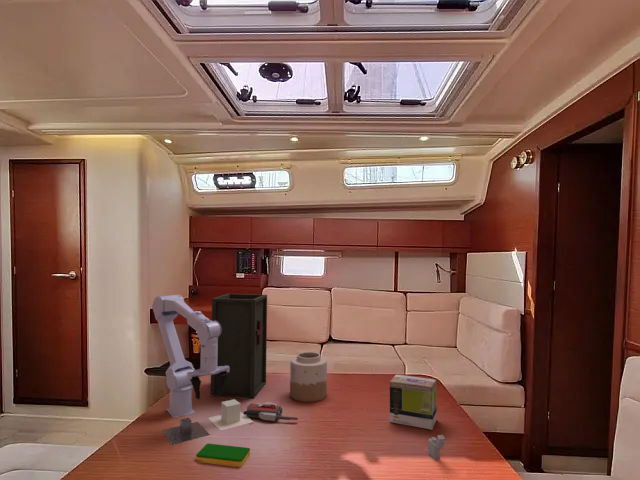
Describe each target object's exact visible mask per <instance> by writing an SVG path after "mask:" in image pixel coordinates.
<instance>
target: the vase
mask: <svg viewBox="0 0 640 480" xmlns="http://www.w3.org/2000/svg"><path fill="white" fill-rule="evenodd" d="M289 363H290V364H289V369H290V370H289V375H290V376H289V396H290V397H291V398H292V399H293V400H295V401H299V402H304V403H308V402H309V403H311V402H319V401H322V400H324V399H325V398H326V397H327V388H328V384H327V383H328V378H327V377H328V368H327V367H328V361H327V359H325V357H321V354H320V353H319V352H315V351H314V352H313V351H311V352H310V351H306V352H305V351H304V352H300V353H298V354H297V355H296V356H295V357H293V358H291V360H290V362H289Z"/></svg>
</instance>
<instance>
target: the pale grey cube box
mask: <svg viewBox="0 0 640 480" xmlns="http://www.w3.org/2000/svg"><path fill="white" fill-rule="evenodd" d="M220 403H221V406H220V407H221V408H220V409H221V410H220V415H221V420H222V421H224V422H225V423H226V424H230V423H234V422H238V421H240V411H241V402H239V401H237V399H234V398H233V399H230V400H225V401H222V402H220Z"/></svg>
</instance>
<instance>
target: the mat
mask: <svg viewBox="0 0 640 480" xmlns="http://www.w3.org/2000/svg"><path fill="white" fill-rule="evenodd" d="M208 420H209V421H210V422H211V423H212V424H213V425H214V426H215V427H216V428H217V429H218V430H219V431H221V432H222V431H224V430H229V429H231V428H237V427H240V426H244V425H252V424H254V423H255V422H254V421H253V420H252V419H251V418H250V417H248V416H247V415H245V414H243V412H242V411H241V410H240V421H238V422H234V423H230V424H226V423H225V422H224V421H222V420H221V414H220V415H219V414H218V415H214V416H210V417H208Z"/></svg>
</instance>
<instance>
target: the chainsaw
mask: <svg viewBox="0 0 640 480" xmlns="http://www.w3.org/2000/svg"><path fill="white" fill-rule="evenodd" d="M242 413H243V414H244V415H246V416H247V417H248V418H255V419H256V418H257V419H261V420H263V421H272V422H275V421H276V420H286V421H290V420H293V421H299V420H298V419H299V418H298V417H293V416H284V415H282V413H283V408H282V407H281V405H278V404H277V403H276V402H271V401H268V402H267V401H266V402H263V403H260V402H259V401H258V402H257V403H250V404H249V405H248V406H247V408H246V410H245V411H243V412H242Z"/></svg>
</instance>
